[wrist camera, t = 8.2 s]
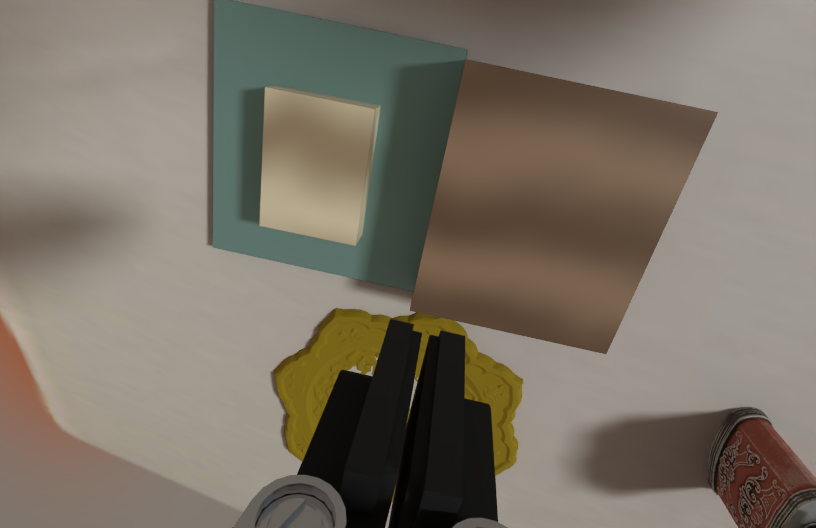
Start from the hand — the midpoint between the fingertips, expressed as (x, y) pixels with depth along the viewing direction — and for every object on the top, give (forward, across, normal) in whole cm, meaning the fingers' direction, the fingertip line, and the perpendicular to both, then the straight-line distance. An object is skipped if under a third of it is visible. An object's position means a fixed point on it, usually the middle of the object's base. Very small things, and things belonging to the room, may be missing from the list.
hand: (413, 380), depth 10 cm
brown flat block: (+19, -5, +1) cm, 20 cm away
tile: (+17, +8, +1) cm, 18 cm away
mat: (+19, +8, +1) cm, 21 cm away
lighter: (+20, -25, +16) cm, 36 cm away
